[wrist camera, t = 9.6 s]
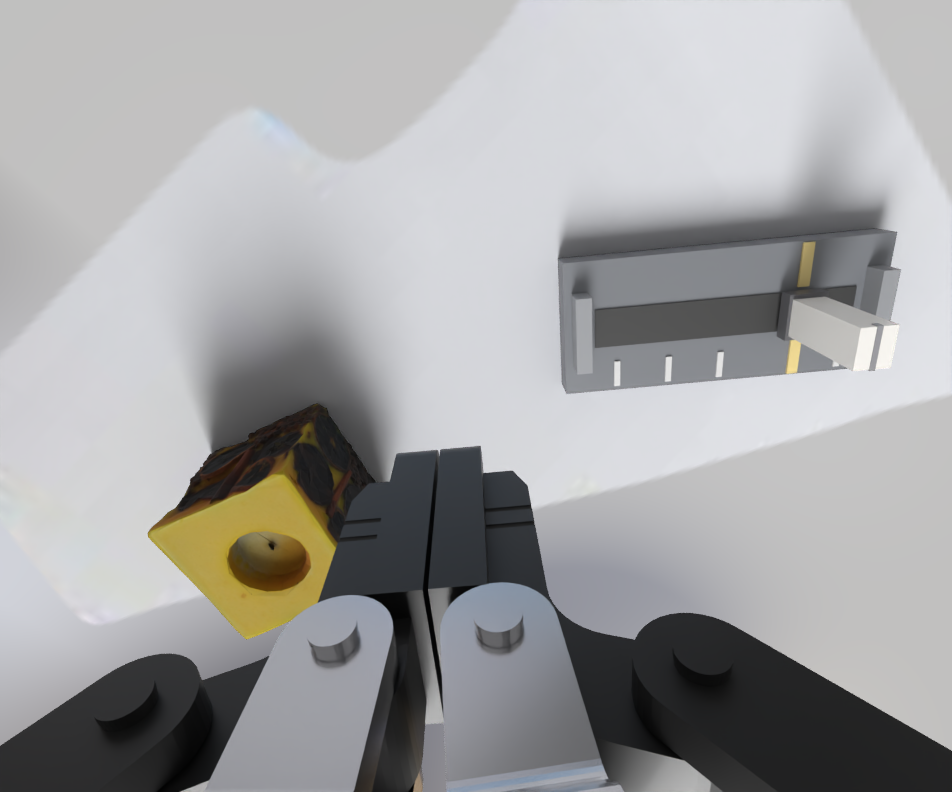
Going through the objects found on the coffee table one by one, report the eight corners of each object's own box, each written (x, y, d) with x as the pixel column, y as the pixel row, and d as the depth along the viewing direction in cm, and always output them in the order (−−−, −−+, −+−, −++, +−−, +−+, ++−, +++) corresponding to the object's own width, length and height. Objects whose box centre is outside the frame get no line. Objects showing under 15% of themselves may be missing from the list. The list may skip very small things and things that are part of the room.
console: (557, 258, 37) (566, 268, 34) (875, 228, 37) (916, 235, 33) (561, 383, 41) (570, 403, 37) (851, 357, 40) (886, 374, 37)
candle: (209, 452, 42) (137, 532, 33) (321, 396, 41) (279, 465, 32) (285, 548, 46) (240, 645, 37) (391, 501, 44) (371, 590, 35)
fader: (782, 291, 36) (858, 323, 29) (819, 288, 36) (905, 318, 29) (776, 336, 37) (848, 377, 30) (813, 333, 37) (893, 373, 30)
